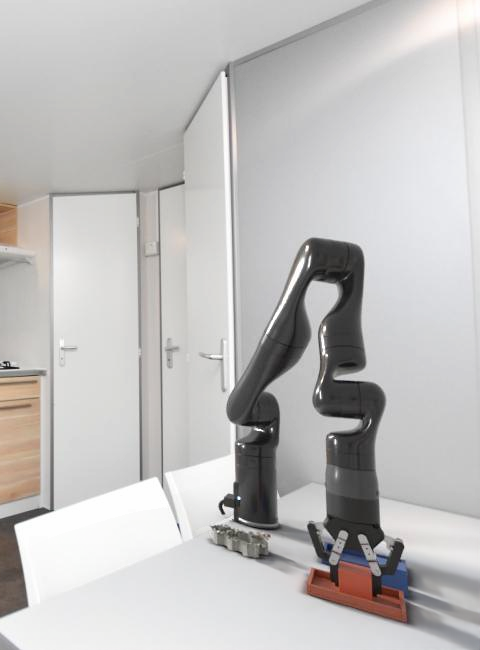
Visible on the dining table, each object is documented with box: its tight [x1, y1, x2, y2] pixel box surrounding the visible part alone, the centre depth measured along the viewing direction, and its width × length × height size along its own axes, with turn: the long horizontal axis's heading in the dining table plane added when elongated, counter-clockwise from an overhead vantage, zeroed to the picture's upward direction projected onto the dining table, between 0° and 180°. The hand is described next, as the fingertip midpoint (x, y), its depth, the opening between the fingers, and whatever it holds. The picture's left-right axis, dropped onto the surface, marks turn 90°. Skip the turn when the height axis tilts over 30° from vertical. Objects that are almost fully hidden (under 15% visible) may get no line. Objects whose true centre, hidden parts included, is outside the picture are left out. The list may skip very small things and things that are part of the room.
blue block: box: [377, 557, 409, 598], centre depth 88 cm, size 4×4×4 cm
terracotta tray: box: [306, 566, 408, 623], centre depth 84 cm, size 13×9×2 cm
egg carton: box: [208, 523, 271, 559], centre depth 105 cm, size 11×8×4 cm
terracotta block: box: [338, 561, 373, 601], centre depth 84 cm, size 4×4×4 cm
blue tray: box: [320, 541, 409, 586], centre depth 97 cm, size 13×9×2 cm
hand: (355, 589), depth 84 cm, fingers closed on terracotta block, 4 cm apart
